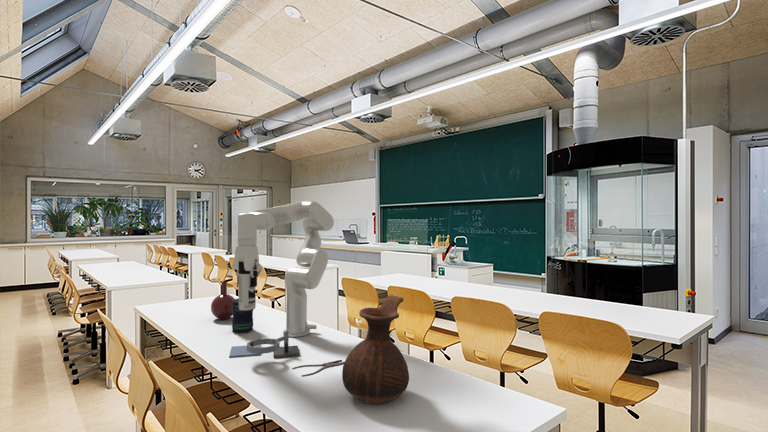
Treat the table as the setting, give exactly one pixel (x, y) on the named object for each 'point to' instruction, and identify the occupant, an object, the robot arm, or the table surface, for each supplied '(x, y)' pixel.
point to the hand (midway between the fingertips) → (247, 285)
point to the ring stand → (274, 347)
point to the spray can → (245, 289)
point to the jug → (377, 358)
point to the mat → (241, 351)
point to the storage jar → (241, 319)
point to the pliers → (321, 365)
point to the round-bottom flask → (222, 304)
